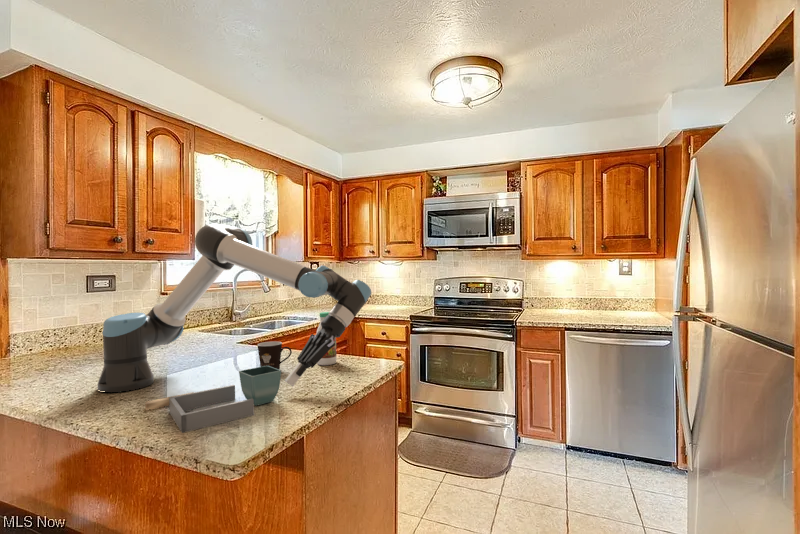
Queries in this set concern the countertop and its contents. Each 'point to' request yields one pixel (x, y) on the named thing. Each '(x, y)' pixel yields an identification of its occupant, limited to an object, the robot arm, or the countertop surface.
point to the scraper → (158, 402)
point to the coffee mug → (271, 354)
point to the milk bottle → (331, 354)
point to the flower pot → (260, 384)
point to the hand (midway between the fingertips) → (288, 383)
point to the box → (210, 414)
